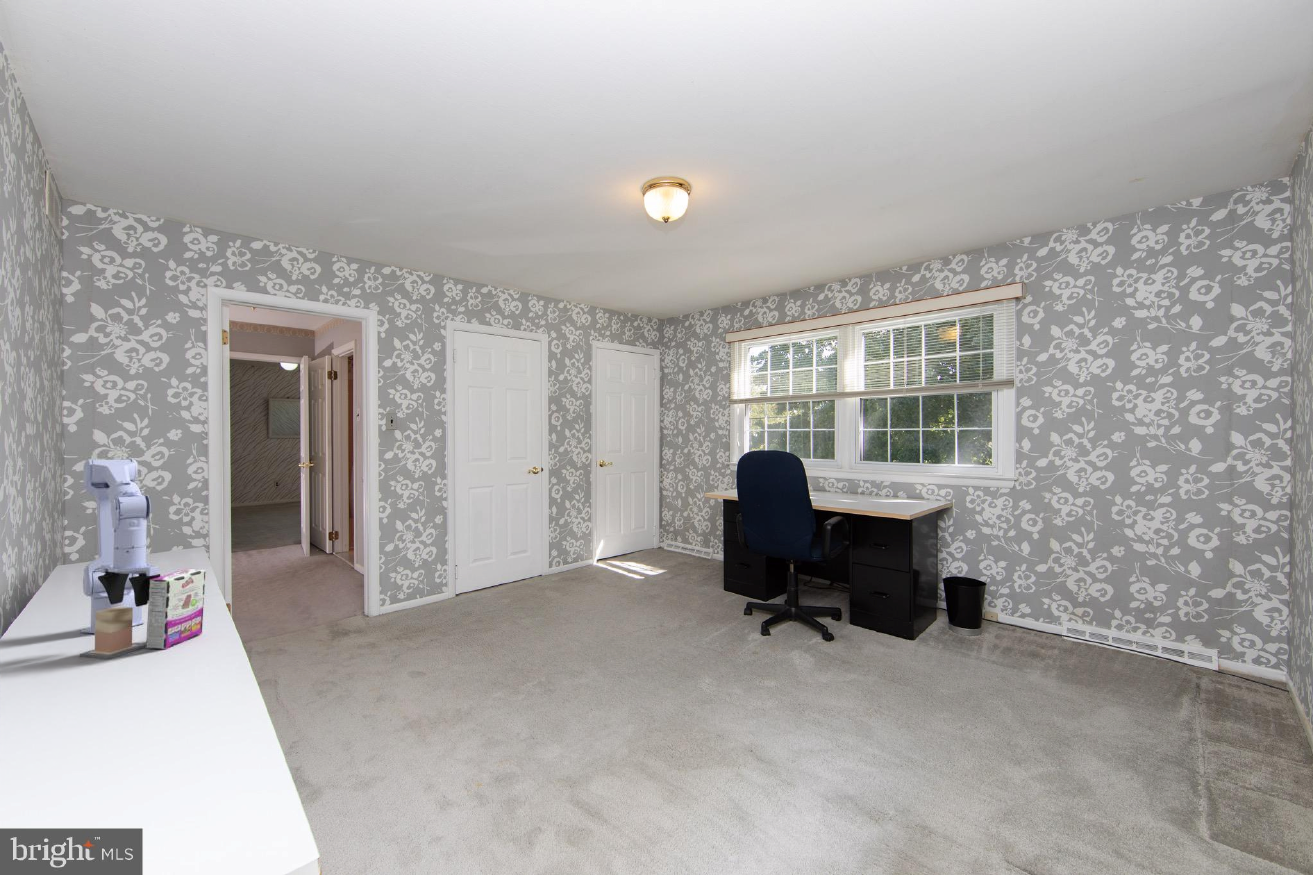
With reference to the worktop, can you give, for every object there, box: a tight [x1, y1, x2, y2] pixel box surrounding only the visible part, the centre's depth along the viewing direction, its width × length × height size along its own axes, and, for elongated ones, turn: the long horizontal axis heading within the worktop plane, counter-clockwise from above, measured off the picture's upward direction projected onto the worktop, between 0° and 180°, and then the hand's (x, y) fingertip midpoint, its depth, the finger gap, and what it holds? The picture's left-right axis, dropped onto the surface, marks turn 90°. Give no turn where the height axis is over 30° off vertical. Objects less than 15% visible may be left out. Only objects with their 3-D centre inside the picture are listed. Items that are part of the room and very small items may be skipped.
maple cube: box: [95, 606, 133, 633], centre depth 132 cm, size 4×4×4 cm
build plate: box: [79, 642, 146, 660], centre depth 132 cm, size 8×8×1 cm
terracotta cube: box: [94, 626, 133, 653], centre depth 132 cm, size 4×4×4 cm
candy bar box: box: [145, 568, 207, 650], centre depth 139 cm, size 11×5×16 cm, turn 0°
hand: (128, 604), depth 136 cm, fingers open, 7 cm apart
